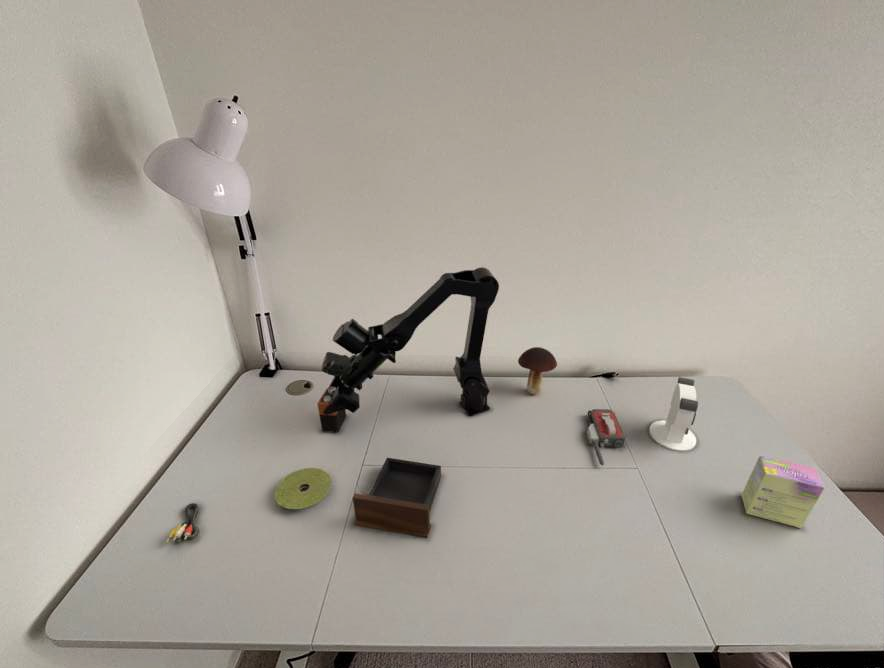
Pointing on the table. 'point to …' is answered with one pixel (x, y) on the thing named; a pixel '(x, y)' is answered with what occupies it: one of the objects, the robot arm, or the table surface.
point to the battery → (331, 420)
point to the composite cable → (185, 526)
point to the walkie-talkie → (604, 430)
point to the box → (782, 491)
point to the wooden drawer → (399, 498)
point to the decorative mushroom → (537, 366)
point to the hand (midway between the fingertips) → (325, 404)
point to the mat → (303, 488)
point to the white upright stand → (678, 419)
